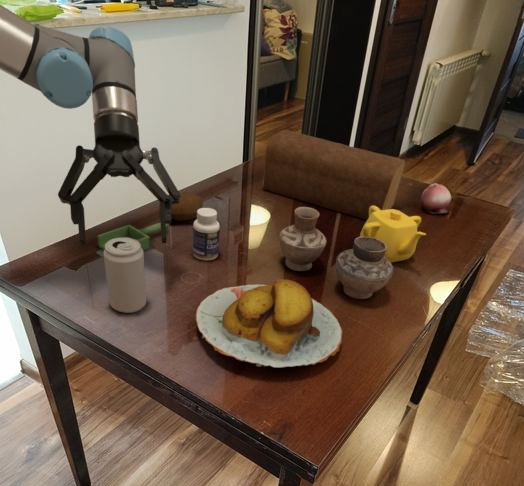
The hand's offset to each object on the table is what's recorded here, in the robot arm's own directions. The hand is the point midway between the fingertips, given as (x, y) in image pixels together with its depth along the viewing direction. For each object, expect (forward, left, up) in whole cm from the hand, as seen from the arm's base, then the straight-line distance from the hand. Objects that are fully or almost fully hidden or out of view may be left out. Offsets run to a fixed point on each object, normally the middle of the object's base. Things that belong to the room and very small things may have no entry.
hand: (124, 242), depth 84 cm
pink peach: (+22, +85, -10) cm, 89 cm away
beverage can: (+4, -3, -10) cm, 11 cm away
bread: (-1, +67, -10) cm, 68 cm away
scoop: (-13, +13, -10) cm, 21 cm away
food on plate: (+26, +10, -10) cm, 29 cm away
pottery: (+23, +33, -10) cm, 41 cm away
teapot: (+26, +52, -10) cm, 59 cm away
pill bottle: (0, +20, -10) cm, 23 cm away
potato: (-15, +28, -10) cm, 34 cm away
